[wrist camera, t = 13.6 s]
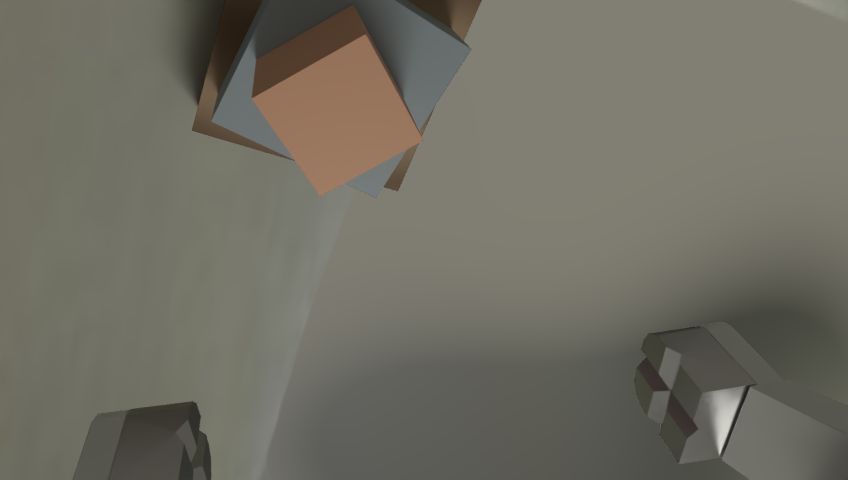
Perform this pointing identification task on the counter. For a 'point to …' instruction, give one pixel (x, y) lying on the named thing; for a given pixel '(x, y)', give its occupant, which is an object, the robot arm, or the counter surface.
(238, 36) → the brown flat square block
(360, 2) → the grey block
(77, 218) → the counter surface
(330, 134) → the rust cube
